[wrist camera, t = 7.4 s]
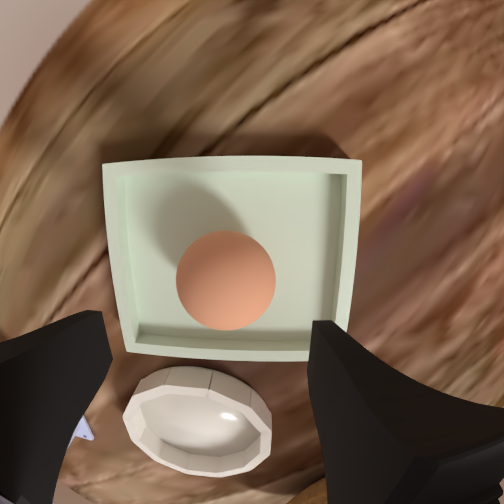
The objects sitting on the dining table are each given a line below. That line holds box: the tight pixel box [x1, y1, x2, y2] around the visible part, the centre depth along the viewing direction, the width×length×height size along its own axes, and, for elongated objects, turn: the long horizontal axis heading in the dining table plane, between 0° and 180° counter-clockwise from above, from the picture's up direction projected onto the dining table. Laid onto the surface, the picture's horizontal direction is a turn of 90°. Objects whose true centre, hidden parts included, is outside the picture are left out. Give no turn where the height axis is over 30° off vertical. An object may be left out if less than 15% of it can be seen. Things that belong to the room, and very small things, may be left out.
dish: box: [123, 366, 272, 477], centre depth 22 cm, size 12×12×2 cm
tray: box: [102, 156, 362, 361], centre depth 18 cm, size 14×12×2 cm
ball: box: [176, 231, 276, 330], centre depth 16 cm, size 5×5×5 cm
